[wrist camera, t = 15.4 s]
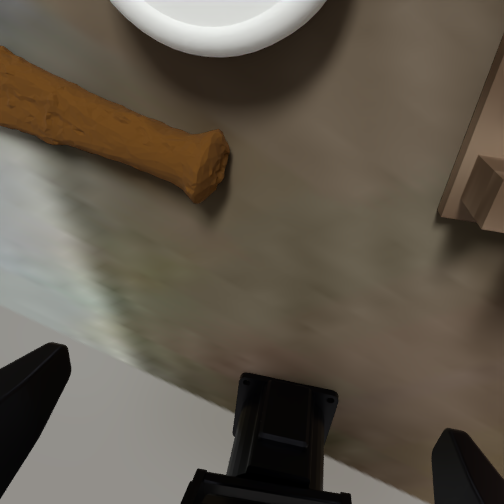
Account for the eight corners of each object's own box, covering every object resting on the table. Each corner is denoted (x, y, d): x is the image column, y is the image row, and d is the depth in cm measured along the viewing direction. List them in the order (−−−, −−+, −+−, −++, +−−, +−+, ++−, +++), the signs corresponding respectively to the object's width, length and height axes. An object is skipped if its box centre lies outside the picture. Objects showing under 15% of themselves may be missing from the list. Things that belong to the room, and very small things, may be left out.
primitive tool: (-122, 89, 22) (-195, 100, 19) (-148, -33, 19) (-239, -44, 16) (224, 194, 21) (206, 223, 18) (249, 87, 19) (233, 99, 16)
